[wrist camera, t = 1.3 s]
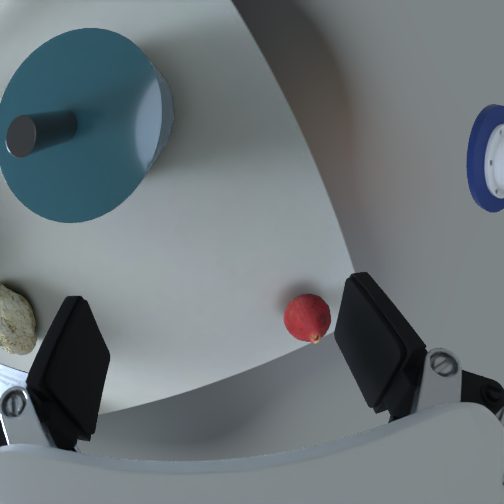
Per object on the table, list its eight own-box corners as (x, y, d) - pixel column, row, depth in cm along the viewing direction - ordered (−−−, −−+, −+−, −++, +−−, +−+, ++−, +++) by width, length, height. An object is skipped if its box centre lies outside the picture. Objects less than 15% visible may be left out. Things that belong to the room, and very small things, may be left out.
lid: (149, 4, 12) (126, -34, 7) (184, 190, 20) (175, 228, 14) (-7, 82, 12) (-59, 87, 6) (31, 235, 19) (-9, 277, 13)
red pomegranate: (304, 273, 36) (326, 314, 29) (327, 297, 38) (349, 337, 31) (269, 301, 37) (283, 345, 30) (294, 322, 40) (311, 364, 33)
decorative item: (55, 347, 31) (17, 377, 28) (54, 313, 38) (19, 342, 35) (-1, 288, 24) (-37, 326, 21) (9, 260, 30) (-25, 294, 27)
